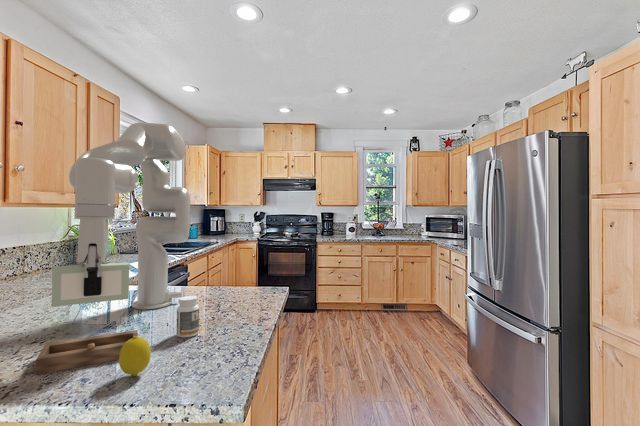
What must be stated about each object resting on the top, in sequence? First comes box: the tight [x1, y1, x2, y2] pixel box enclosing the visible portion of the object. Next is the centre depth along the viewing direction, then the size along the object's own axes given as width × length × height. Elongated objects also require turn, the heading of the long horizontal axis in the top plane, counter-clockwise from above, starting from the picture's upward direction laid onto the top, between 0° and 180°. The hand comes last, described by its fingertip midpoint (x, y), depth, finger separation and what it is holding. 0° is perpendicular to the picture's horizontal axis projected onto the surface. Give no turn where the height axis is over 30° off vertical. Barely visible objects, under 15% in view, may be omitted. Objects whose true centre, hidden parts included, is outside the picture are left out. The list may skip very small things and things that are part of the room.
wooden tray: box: [35, 329, 139, 376], centre depth 74 cm, size 18×10×4 cm, turn 121°
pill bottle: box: [175, 295, 200, 338], centre depth 88 cm, size 6×6×10 cm
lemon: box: [118, 335, 152, 377], centre depth 65 cm, size 6×6×8 cm
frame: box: [51, 261, 130, 308], centre depth 74 cm, size 14×4×8 cm, turn 121°
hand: (93, 292), depth 74 cm, fingers closed on frame, 4 cm apart
